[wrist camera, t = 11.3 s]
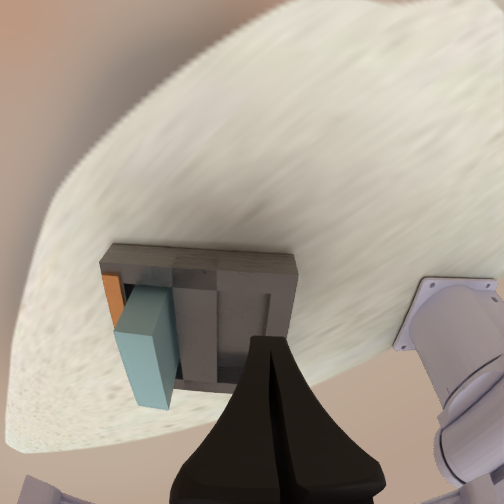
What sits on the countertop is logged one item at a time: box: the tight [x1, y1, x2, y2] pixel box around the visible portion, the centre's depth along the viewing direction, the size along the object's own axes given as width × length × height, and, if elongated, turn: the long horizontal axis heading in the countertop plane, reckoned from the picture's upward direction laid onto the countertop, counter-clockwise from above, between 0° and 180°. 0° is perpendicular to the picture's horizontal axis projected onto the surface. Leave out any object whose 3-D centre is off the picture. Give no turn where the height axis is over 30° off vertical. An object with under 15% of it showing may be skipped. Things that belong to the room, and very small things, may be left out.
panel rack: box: [99, 244, 298, 394], centre depth 23 cm, size 13×13×3 cm
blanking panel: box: [113, 284, 180, 410], centre depth 21 cm, size 2×8×6 cm, turn 176°
